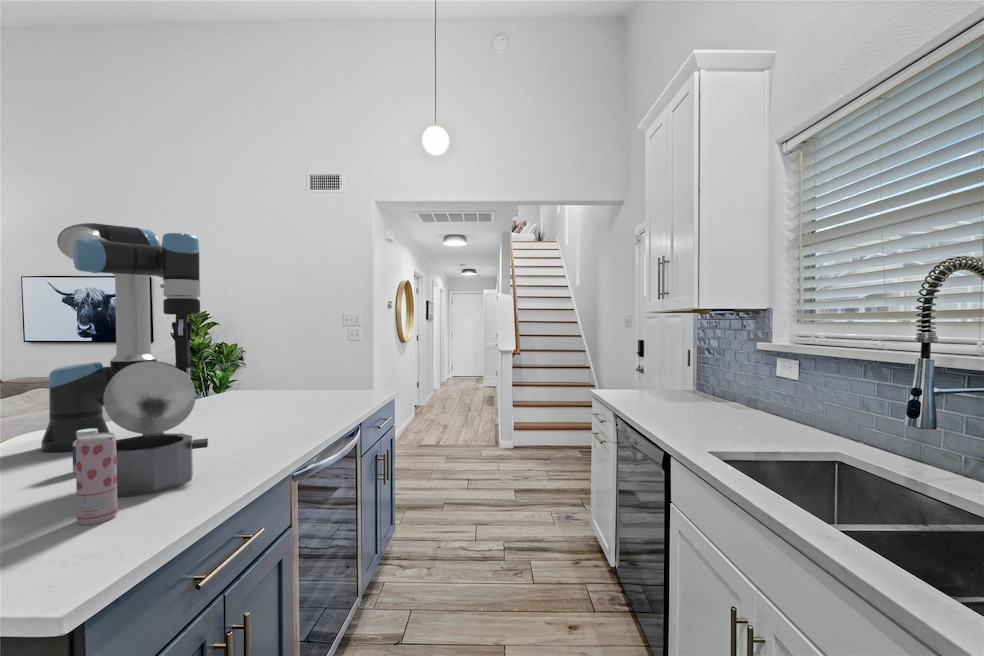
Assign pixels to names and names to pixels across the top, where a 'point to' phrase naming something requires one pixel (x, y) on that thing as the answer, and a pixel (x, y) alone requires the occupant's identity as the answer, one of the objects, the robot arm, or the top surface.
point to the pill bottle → (78, 434)
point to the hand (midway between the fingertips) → (183, 395)
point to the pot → (154, 463)
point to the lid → (149, 397)
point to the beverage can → (96, 478)
